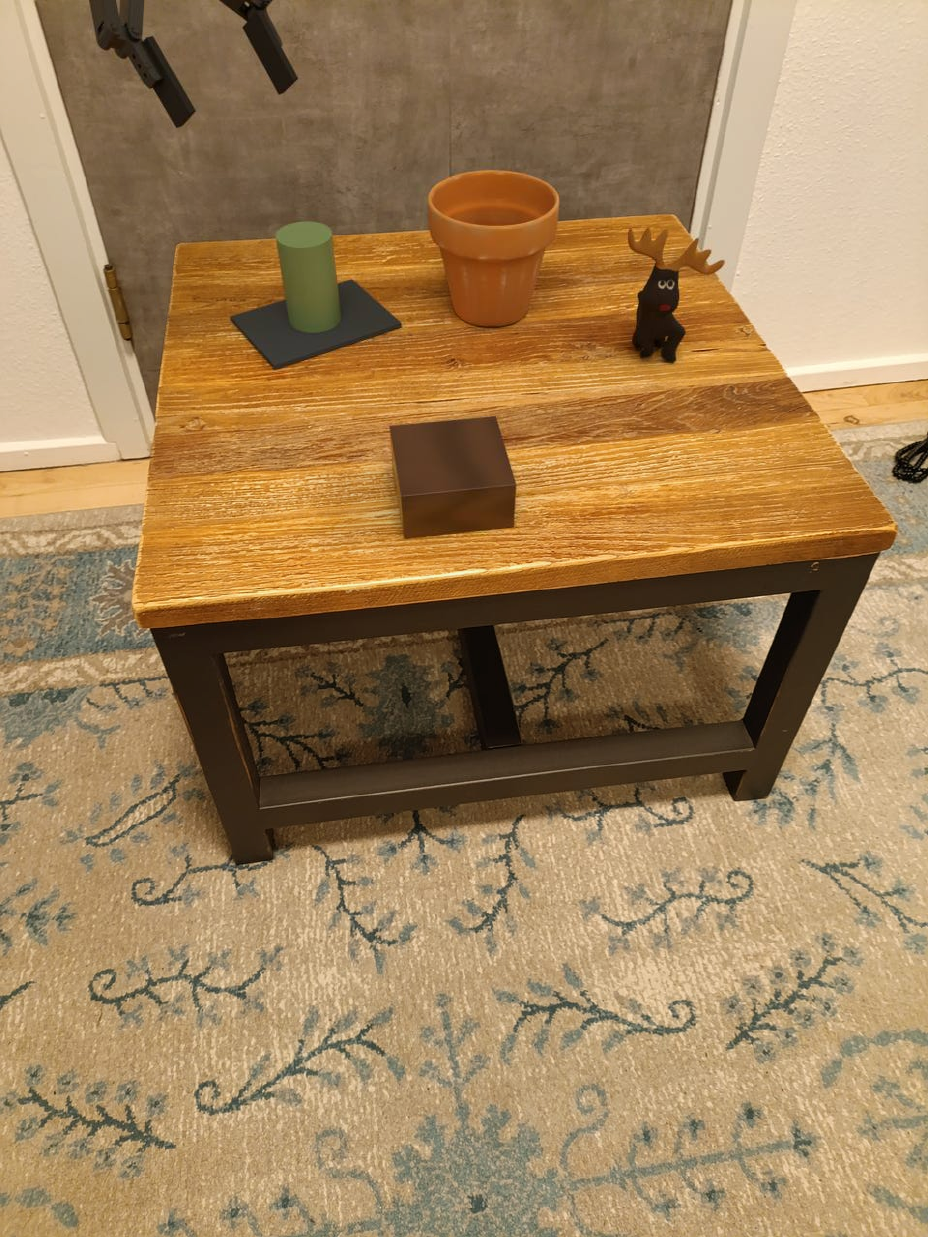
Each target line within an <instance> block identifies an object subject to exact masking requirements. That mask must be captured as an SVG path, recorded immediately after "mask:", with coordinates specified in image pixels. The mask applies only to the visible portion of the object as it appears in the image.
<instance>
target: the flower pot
mask: <svg viewBox="0 0 928 1237" xmlns="http://www.w3.org/2000/svg"><path fill="white" fill-rule="evenodd" d="M560 202H561V200H560V197H559V193H558V192H557V190H556V189H555V188H554V187H553V186H552V185H551V184H549V183H548V182H546V181H545V180H543V179H542V178H541V179H540V178H538V177H535V176H533V175H529V174H526V173H521V172H516V171H509V170H497V169H495V170H494V169H493V170H492V169H491V170H490V169H489V170H488V169H487V170H474V171H467V172H463V173H462V172H461V173H459V174H455V175H452V176H449V177H447V178H444V179H442V180H441V181H439V182H438V183H436V184H435V185H434V186H433V187H431V189H430V191H429V193H428V195H427V218H428V219H427V220H428V230H429V234H430V237H431V239H432V241H433V242H434V243H435V244H436V245H437V246H438V248H439V252H440V256H441V260H442V265H443V270H444V273H445V277H446V281H447V286H448V290H449V295H450V299H451V302H452V307H453V311H454V313H455V314H456V316H457V317H458V318H460V319H461V320H462V321H464V322H466V323H468V324H471V325H474V326H479V327H496V328H497V327H505V326H509V325H512V324H515V323H517V322H519V321H521V320H522V319H523V318H525V317H526V315H527V314H528V312H529V308H530V305H531V302H532V299H533V295H534V291H535V288H536V285H537V281H538V278H539V275H540V274H539V273H540V270H541V267H542V263H543V261H544V260H543V259H544V256H545V252H546V249H547V248H548V247H549V246H550V245H551V244H552V243H553V241H554V240H555V238H556V234H557V230H558V221H559V212H560Z"/></svg>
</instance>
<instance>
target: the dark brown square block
mask: <svg viewBox="0 0 928 1237" xmlns="http://www.w3.org/2000/svg"><path fill="white" fill-rule="evenodd" d="M389 439H390V452H391V453H390V454H391V464H392V465H391V466H392V474H393V479H394V486H395V491H396V497H397V504H398V511H399V517H400V522H401V528H402V535H403V539H414V538H422V537H423V538H424V537H431V536H433V537H434V536H440V535H441V536H443V535H450V534H451V535H452V534H460V533H471V532H480V531H488V530H496V529H497V530H498V529H508V528H514V527H515V515H516V498H517V482H516V479H515V476H514V472H513V468H512V466H511V462H510V459H509V455H508V452H507V449H506V445H505V441H504V438H503V435H502V431H501V429H500V425H499V421H498V418H497V416H496V415H491V416H480V417H469V418H459V419H449V420H448V419H447V420H438V421H428V422H418V423H415V422H414V423H406V424H396V425H389Z"/></svg>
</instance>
